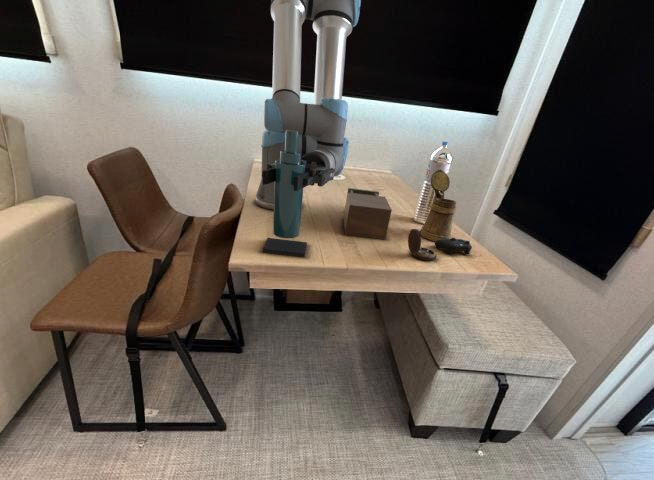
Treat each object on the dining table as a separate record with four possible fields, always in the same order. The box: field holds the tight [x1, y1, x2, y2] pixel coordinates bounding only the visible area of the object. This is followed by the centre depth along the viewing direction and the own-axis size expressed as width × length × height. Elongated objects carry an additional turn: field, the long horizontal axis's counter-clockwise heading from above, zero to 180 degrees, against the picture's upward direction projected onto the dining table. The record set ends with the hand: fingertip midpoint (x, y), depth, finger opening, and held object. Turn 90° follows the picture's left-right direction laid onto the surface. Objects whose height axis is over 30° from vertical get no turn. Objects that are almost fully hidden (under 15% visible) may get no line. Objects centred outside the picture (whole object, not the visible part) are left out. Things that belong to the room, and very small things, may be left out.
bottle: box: [272, 130, 305, 240], centre depth 72 cm, size 6×6×22 cm
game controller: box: [434, 237, 472, 255], centre depth 91 cm, size 10×5×6 cm
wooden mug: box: [419, 169, 457, 242], centre depth 98 cm, size 9×14×18 cm, turn 6°
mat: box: [262, 237, 308, 258], centre depth 80 cm, size 7×10×1 cm
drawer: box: [344, 187, 380, 209], centre depth 108 cm, size 17×10×7 cm, turn 178°
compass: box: [407, 228, 437, 262], centre depth 85 cm, size 8×8×7 cm
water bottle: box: [413, 140, 453, 225], centre depth 106 cm, size 7×7×25 cm
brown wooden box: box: [343, 191, 393, 240], centre depth 97 cm, size 14×12×9 cm
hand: (279, 180), depth 67 cm, fingers closed on bottle, 6 cm apart
